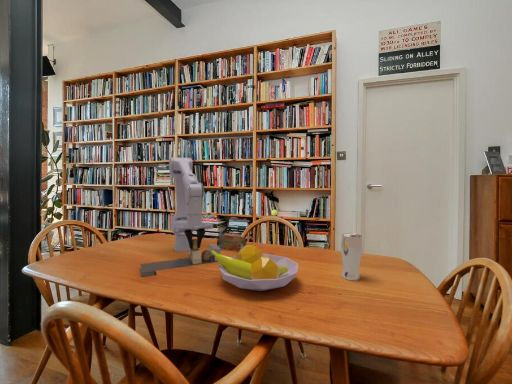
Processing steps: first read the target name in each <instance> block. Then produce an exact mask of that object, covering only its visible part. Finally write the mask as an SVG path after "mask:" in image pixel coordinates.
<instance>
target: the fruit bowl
mask: <svg viewBox="0 0 512 384" xmlns="http://www.w3.org/2000/svg"><path fill="white" fill-rule="evenodd" d="M211 253H212V254H213V255H214V256H215V258H216V260H217V261H218V262H217V263H218V264H219V265H218V266H217V268H218V271H219V272H220V273H221V276H222V278H223V281H225V282H227V283H229V284H231V285H233V286H235V287H237V288H239V289H245V290H250V291H258V292H264V291H265V292H266V291H268V290H272V289H278V288H282V287H283V288H284V287H285V286H288V284H289V283H290V282H291V281H293V280H294V279H295V278H296V276H297V274H298V269H299V263H298V262H296V261H294V260H292V259H291V258H288V257H286V256H282V255H274V254H271V253H270V254H269V253H263V252H262V250H261V249H260V248H259V247H257V246H256V245H251V244H247V245H245V246H244V247H243V248H242V249H240V251H239V252H238V253H237V255H235V256H232V257H231V256H228V255H224V254H222V253H221V254H217V253H216V252H215V251H214V250H212V251H211Z"/></svg>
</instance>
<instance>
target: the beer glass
mask: <svg viewBox="0 0 512 384" xmlns="http://www.w3.org/2000/svg"><path fill="white" fill-rule="evenodd" d="M340 250H341V251H340V253H341V260H342V272H341V277H342V278H343V279H344V280H348V281H359V280H360V279H361V276H360V263H361V259H362V253H363V237H362V235H361V234H358V233H351V232H347V233H342V234H341V242H340Z"/></svg>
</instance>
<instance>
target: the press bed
mask: <svg viewBox="0 0 512 384" xmlns="http://www.w3.org/2000/svg"><path fill="white" fill-rule="evenodd" d="M208 250H209V251H210V252H211V251H212V250H214V251H215V252H216V253H217V254H221V255H222V251H221V250H222V249H221V248H220V247H218V246H217V243H209V244H208ZM213 263H219V262H218V261H217V260H216V258H215V256H214V255H213V254H212V253H211V260H208V261H204V260H202V255H201V263H199V264H193V263H192V262H191V260H190V259H189V257H186V258H178V259H170V260H162V261H155V262H154V261H153V262H148V263H147V262H146V263H140V266H139V267H140V274H141V277H142V278H143V277H149V276H155V275H158V274H157V271H164V270H170V269H176V268H177V269H178V268H185V267H193V266H198V265H206V264H207V265H208V264H213Z"/></svg>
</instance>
